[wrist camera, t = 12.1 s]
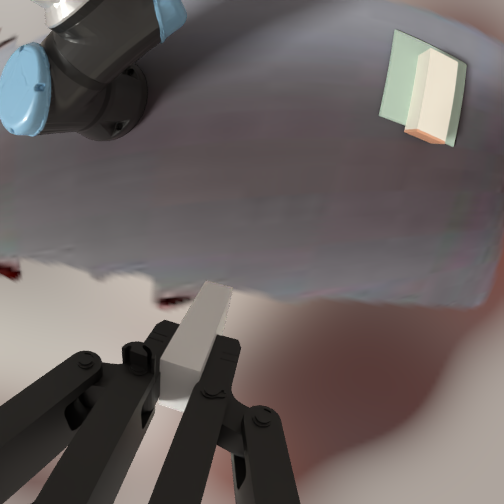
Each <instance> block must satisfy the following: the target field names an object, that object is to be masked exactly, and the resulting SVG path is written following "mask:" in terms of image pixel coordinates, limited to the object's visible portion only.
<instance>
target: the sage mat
mask: <svg viewBox="0 0 504 504" xmlns="http://www.w3.org/2000/svg"><path fill="white" fill-rule="evenodd" d="M430 48H432V49H434V50H436V51H438V52H440V53H442V54H444V55H446V56H448V57H450V58H451V59H453V60H455V61H457V62H458V69H457V77H456V85H455V92H454V99H453V105H452V111H451V116H450V121H449V127H448V131H447V136H446V141H445V144H447V145H449V146H452V147H454V143H455V138H456V133H457V128H458V123H459V117H460V112H461V106H462V99H463V92H464V85H465V76H466V67H467V64H465V63H463V62H462V61H460V60H458V59H456V58H454V57H453V56H451V55H449V54H447V53H445V52H443V51H441V50H439V49H437V48H435V47H433V46H431V45H429V44H427V43H425V42H423V41H421V40H419V39H416V38H414V37H412V36H410V35H407V34H405V33H403V32H400V31H398V30H395V31H394V37H393V44H392V50H391V56H390V62H389V67H388V73H387V78H386V83H385V88H384V93H383V98H382V103H381V107H380V112H379V116H381V117H384V118H386V119H389V120H392V121H394V122H397V123H399V124H402V125H404V126H406V121H407V117H408V112H409V107H410V102H411V97H412V92H413V86H414V80H415V74H416V68H417V61H418V55H420V54H422V53H423V52H425V51H427V50H428V49H430Z"/></svg>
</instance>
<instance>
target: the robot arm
mask: <svg viewBox="0 0 504 504" xmlns="http://www.w3.org/2000/svg"><path fill="white" fill-rule="evenodd" d="M31 1H33V2H35V3H36V4H38V5H40V6H41V7H43V8H44V9H45V25H46V26H47V27H48V28H49V29H51V30H52V31H51V32H50V34H49V35H48V36H47V37H46V38H45V39H44V40H43V41H42V42H41V43H40V44H38V43H35V42H33V43H30V44H26V45H23V46H21V47H19V48H18V49H17V50H16V51H15V52H14V53H13V54H12V55H11V57H10V58H9V60H8V61H7V63H6V65H5V67H4V70H3V72H2V75H1V78H0V119H1V121H2V123H3V125H4V127H5V128H6V129H7V130H8V131H9V132H10V133H12V134H15V135H29V136H36V135H42V134H53V133H65V132H77V133H79V134H81V135H83V136H84V137H86V138H88V139H91V140H95V141H110V140H115V139H117V138H120V137H122V136H123V135H125V134H126V133H128V132H129V131H130V130H131V129H132V128H133V127H134V126H135V125H136V123H137V122H138V121H139V119H140V117H141V115H142V113H143V111H144V108H145V105H146V101H147V83H146V79H145V76H144V74H143V72H142V71H141V70H140V68H139V67H138V66H137V65H135V64H134V62H135V61H137V60H138V59H139V58H140V57H142V56H143V55H144V54H145V53H147V52H148V51H149V50H151V49H152V48H153V47H155V46H156V45H157V44H159V43H163V42H164V41H165V39H166V38H167V37H168V36H170V35H171V34H172V33H174V32H175V31H176V30H178V29H179V28H180V27H182V25H183V24H184V23H185V21H186V18H187V13H186V10H185V8H184V6H183V4H182V2H181V0H31ZM232 290H233V287H229V286H225V285H221V284H218V283H214V282H210V281H205V283H204V284H203V286H202V288H201V289H200V291H199V293H198V294H197V296H196V298H195V300H194V301H193V303H192V305H191V306H190V308H189V310H188V311H187V313H186V315H185V317H184V318H183V320H182V322H181V323H180V324H176V323H173V322H170V321H167V320H163V321H162V322H160V323H158V324H156V326H155V327H154V329H153V330H152V332H151V333H150V335H149V336H148V338H147V339H146V340H145V342H144V343H143V342H130V343H127V344H125V345H124V346H123V347H122V358H123V364H110V363H103V362H102V361H101V358H100V357H99V356H98V355H97V354H96V353H93V352H91V351H80V352H77V353H75V354H74V355H72V356H71V357H69V358H68V359H67V360H65V361H64V362H62V363H61V364H59V365H58V366H56V367H55V368H54V369H52V370H51V371H49V372H48V373H46V374H45V375H44V376H42V377H41V378H39V379H38V380H37V381H35V382H34V383H32V384H31V385H30V386H28V387H27V388H25V389H24V390H23V391H21V392H20V393H18V394H17V395H15V396H14V397H13V398H11V399H10V400H8V401H7V402H6V403H4V404H3V405H1V406H0V504H3V503H4V502H5V501H6V500H7V499H9V498H10V497H11V496H12V495H13V494H14V493H15V492H17V491H18V490H19V489H20V488H21V487H22V486H23V485H25V484H26V483H27V482H28V481H29V480H30V479H31V478H32V477H34V476H35V475H36V474H37V473H38V472H39V471H40V470H41V469H42V468H44V467H45V466H46V465H47V464H48V463H49V462H50V461H52V459H54V458H55V457H56V456H57V455H58V454H59V453H60V452H61V451H63V450H64V449H65V448H66V447H67V446H68V447H67V449H66V450H65V452H64V453H63V455H62V457H61V458H60V460H59V461H58V463H57V465H56V466H55V468H54V470H53V471H52V473H51V475H50V476H49V478H48V480H47V481H46V483H45V485H44V486H43V488H42V490H41V492H40V493H39V495H38V497H37V498H36V500H35V501H34V502H33V503H32V504H113V503H114V501H115V498H116V496H117V494H118V492H119V489H120V487H121V485H122V483H123V481H124V478H125V476H126V474H127V472H128V469H129V467H130V465H131V463H132V461H133V459H134V457H135V454H136V452H137V450H138V448H139V446H140V444H141V441H142V439H143V437H144V435H145V433H146V431H147V428H148V426H149V424H150V422H151V420H152V418H153V416H154V413H155V404H156V402H157V400H158V398H159V404H160V405H163V406H165V407H168V408H171V409H175V410H178V411H181V412H184V413H183V416H182V418H181V421H180V423H179V426H178V428H177V431H176V433H175V436H174V439H173V441H172V444H171V447H170V449H169V452H168V454H167V457H166V459H165V462H164V465H163V467H162V469H161V472H160V475H159V477H158V480H157V482H156V485H155V488H154V490H153V493H152V495H151V498H150V501H149V503H148V504H201V500H202V497H203V493H204V489H205V486H206V482H207V478H208V474H209V471H210V467H211V463H212V460H213V455H214V452H215V448H216V445H218V446H220V447H222V448H224V449H226V450H227V451H229V452H231V461H232V471H233V482H234V491H235V500H236V504H300V500H299V496H298V492H297V488H296V483H295V480H294V475H293V471H292V466H291V462H290V458H289V454H288V449H287V445H286V441H285V436H284V432H283V428H282V423H281V419H280V417H279V415H278V414H277V413H276V412H275V411H274V410H273V409H270V408H269V407H266V406H261V405H259V406H253V407H251V408H249V407H247V406H245V405H243V404H241V403H240V402H238V401H237V400H236V399H235V398H234V396H233V394H232V391H231V386H232V382H233V378H234V374H235V370H236V366H237V362H238V358H239V354H240V350H241V347H240V344H239V341H238V340H236V339H233V338H229V337H225V336H222V333H223V330H224V327H225V323H226V318H227V313H228V308H229V304H230V299H231V295H232Z"/></svg>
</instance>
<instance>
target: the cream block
mask: <svg viewBox="0 0 504 504" xmlns="http://www.w3.org/2000/svg"><path fill="white" fill-rule="evenodd" d="M457 69H458V62H457V61H455V60H453V59H451V58H450V57H448V56H446V55H444V54H442V53H440V52H438V51H436V50H434V49H432V48H430V49H428V50H427V51H425V52H423V53H422V54H420V55H418V61H417V68H416V74H415V80H414V86H413V92H412V97H411V102H410V107H409V112H408V117H407V121H406V126H405V130H404V132H405V133H407V134H410V135H412V136H415V137H417V138H420V139H422V140H424V141H426V142H429V143H435V144H445V141H446V136H447V131H448V127H449V121H450V116H451V111H452V105H453V99H454V92H455V85H456V77H457Z"/></svg>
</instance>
